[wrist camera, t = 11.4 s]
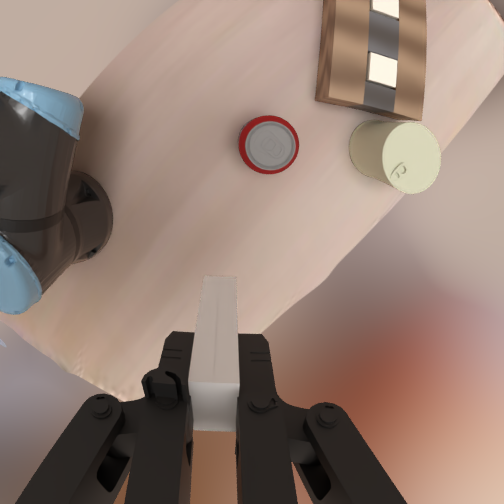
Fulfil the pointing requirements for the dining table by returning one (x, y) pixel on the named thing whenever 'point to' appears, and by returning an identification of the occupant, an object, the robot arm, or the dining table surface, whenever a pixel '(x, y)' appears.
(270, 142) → the beverage can
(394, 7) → the peg
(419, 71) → the socket block
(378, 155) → the can
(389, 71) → the peg
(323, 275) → the dining table surface
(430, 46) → the dining table surface
